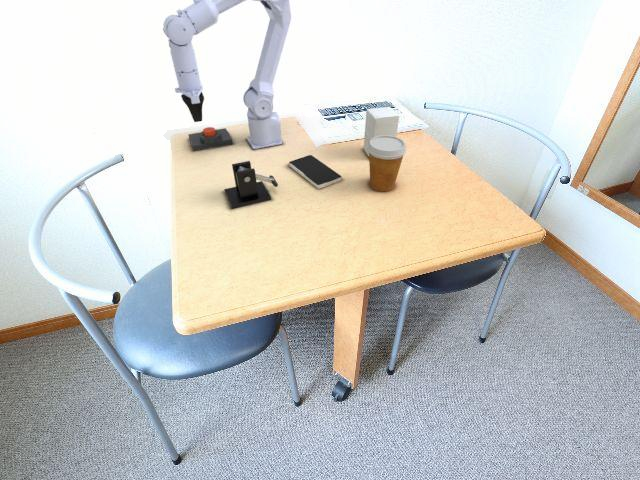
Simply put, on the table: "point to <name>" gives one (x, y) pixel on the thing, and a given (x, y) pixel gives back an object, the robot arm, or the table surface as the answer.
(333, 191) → the table surface
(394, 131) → the white packaging box
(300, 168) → the smartphone
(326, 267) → the table surface
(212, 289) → the table surface
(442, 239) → the table surface
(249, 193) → the bracket
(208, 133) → the button
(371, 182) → the disposable coffee cup
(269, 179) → the lever
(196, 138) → the button box
